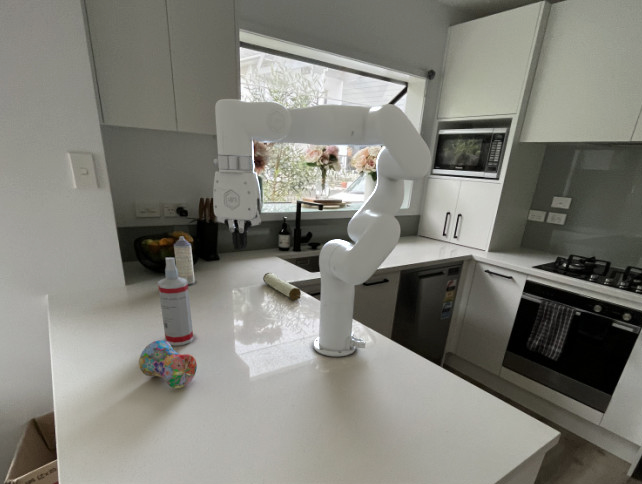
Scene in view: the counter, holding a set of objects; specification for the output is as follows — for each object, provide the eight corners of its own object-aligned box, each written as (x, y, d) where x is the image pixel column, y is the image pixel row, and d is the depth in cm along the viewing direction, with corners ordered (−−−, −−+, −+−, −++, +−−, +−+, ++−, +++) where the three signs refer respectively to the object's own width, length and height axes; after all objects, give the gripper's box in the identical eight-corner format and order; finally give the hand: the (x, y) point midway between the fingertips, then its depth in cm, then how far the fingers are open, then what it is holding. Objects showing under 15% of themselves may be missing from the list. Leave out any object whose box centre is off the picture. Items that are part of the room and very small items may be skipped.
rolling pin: (259, 282, 170) (259, 271, 168) (271, 280, 172) (271, 269, 170) (293, 304, 145) (293, 291, 143) (305, 302, 147) (306, 289, 145)
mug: (178, 349, 84) (149, 335, 89) (160, 388, 83) (132, 372, 88) (213, 360, 95) (185, 347, 100) (197, 395, 94) (170, 380, 99)
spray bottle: (164, 346, 109) (152, 261, 99) (167, 335, 115) (156, 255, 106) (193, 344, 111) (184, 260, 101) (193, 333, 117) (185, 254, 108)
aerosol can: (197, 281, 167) (192, 235, 160) (190, 285, 161) (186, 238, 153) (182, 280, 168) (177, 234, 160) (175, 284, 162) (169, 237, 154)
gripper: (196, 163, 81) (203, 248, 88) (260, 166, 77) (262, 255, 84) (215, 164, 87) (220, 243, 94) (274, 166, 84) (275, 248, 91)
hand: (240, 248), depth 89 cm, fingers closed
